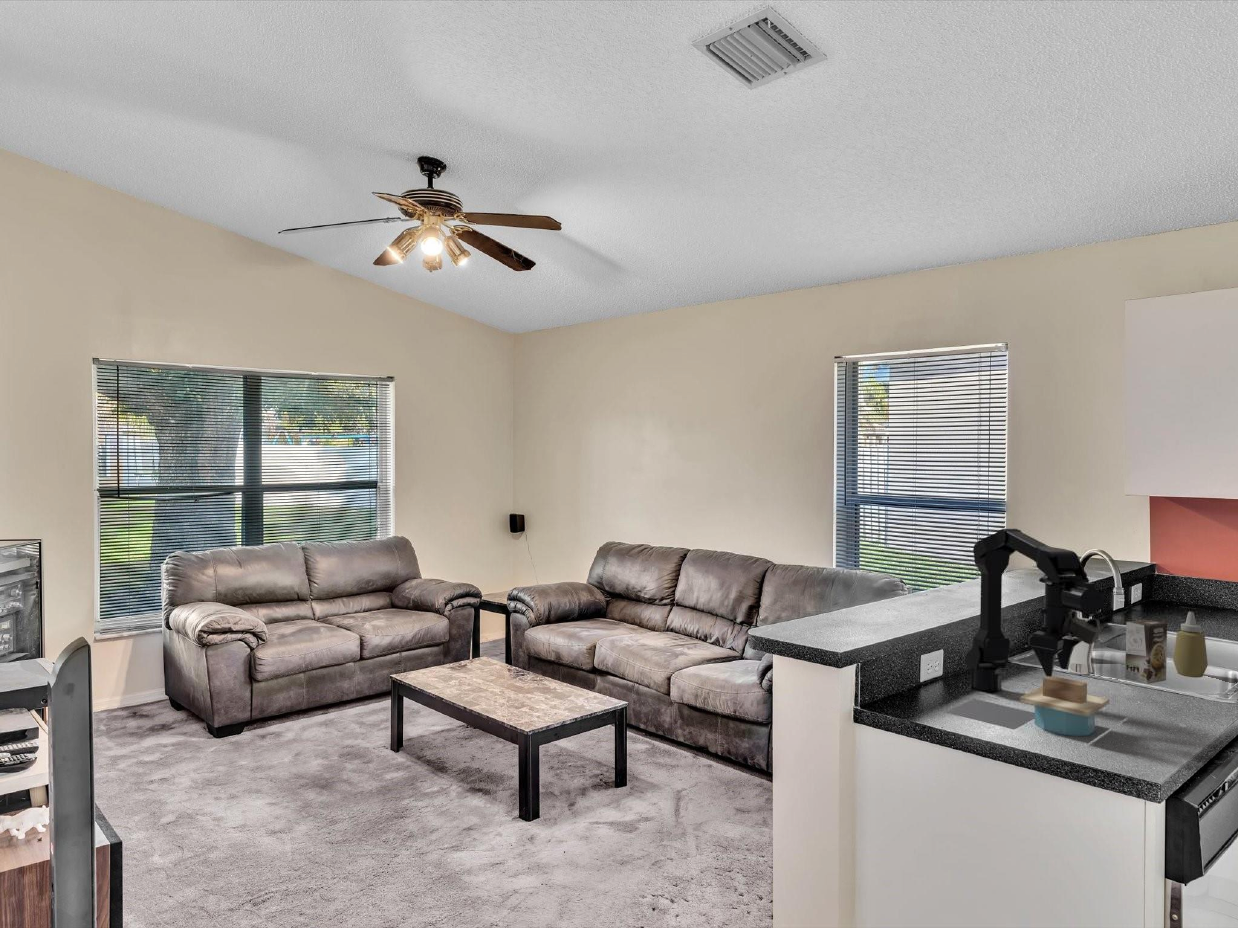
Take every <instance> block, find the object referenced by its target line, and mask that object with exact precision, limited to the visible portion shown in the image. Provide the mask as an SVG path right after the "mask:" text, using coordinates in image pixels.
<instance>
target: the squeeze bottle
mask: <svg viewBox="0 0 1238 928" xmlns="http://www.w3.org/2000/svg"><path fill="white" fill-rule="evenodd" d="M1172 661H1173V664H1174V667H1175V669H1176V672H1177V674H1178V675H1179V676H1183V677H1187V678H1195V679H1197V678H1204V674H1205V672H1206V671H1207V668H1208V665H1209V663H1208V654H1207V644H1206V636H1205V634H1203V633H1202V625H1199V624H1197V620H1196V618H1195V612H1193V611H1188V613H1187V616H1186V620H1185V622H1184V623H1180V630H1179V631H1177V632H1176V637H1175V645H1174V651H1173V658H1172Z"/></svg>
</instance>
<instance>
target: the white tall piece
mask: <svg viewBox="0 0 1238 928" xmlns="http://www.w3.org/2000/svg"><path fill="white" fill-rule="evenodd" d="M1078 618H1079V619H1081V620H1086V622H1087V621H1088V620H1090V619H1091V618H1085V617H1078ZM1078 639H1079V638H1078ZM1094 646H1095V642H1094V643H1092V644H1087V643H1085V642H1083V641H1082V642H1080V643H1079V644H1077V645H1076V646H1075V647H1074V649H1073V652H1072V654H1071V657H1070V660H1069V663H1068V666H1067V670H1068V672H1069V673H1073V674H1078V675H1087V676H1088V675H1093V667H1092V656H1093V650H1094Z"/></svg>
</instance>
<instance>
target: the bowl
mask: <svg viewBox="0 0 1238 928" xmlns="http://www.w3.org/2000/svg"><path fill="white" fill-rule="evenodd" d="M1034 713H1035V718H1034V724H1035V725H1037V726H1038V727H1039V728H1040V729H1042V730H1044V731H1047V732H1050V733H1055V734H1059V735H1063V736H1071V737H1072V736H1075V737H1081V736H1083V737H1084V736H1089V735H1092V733H1094V732H1095V728H1096V727H1095V726H1096V724H1095V722H1096V712H1095V713H1093V714H1092V715H1090V716H1088V717H1087V716H1082V715H1078V714H1073V713H1069V712H1064V711H1060V710H1055V709H1051V708H1046V707H1042V706H1037V705H1034Z"/></svg>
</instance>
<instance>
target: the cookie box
mask: <svg viewBox="0 0 1238 928" xmlns="http://www.w3.org/2000/svg"><path fill="white" fill-rule="evenodd" d="M1125 627H1126V630H1125V635H1126V636H1125V661H1124V662H1125V668H1124V678H1125V680H1129V681H1133V682H1137V683H1141V684H1145V685H1149V684H1154V683H1160V682H1166V681H1167V657H1168V656H1167V655H1168V654H1167V653H1168V652H1167V651H1168V623H1167V622H1164V621H1157V620H1150V619H1138V620H1131V621H1129V620H1128V621H1126V626H1125Z"/></svg>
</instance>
